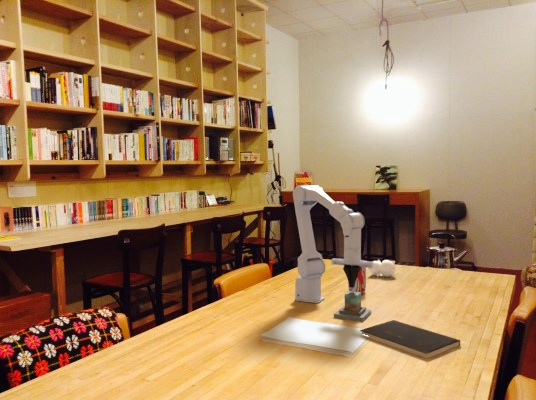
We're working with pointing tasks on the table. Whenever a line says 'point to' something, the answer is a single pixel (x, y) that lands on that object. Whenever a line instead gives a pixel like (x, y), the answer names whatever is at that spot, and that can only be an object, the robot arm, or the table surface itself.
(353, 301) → the block stack
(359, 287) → the soda can
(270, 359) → the table surface
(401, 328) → the hardcover book
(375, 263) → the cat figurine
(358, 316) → the socket board
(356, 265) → the robot arm
